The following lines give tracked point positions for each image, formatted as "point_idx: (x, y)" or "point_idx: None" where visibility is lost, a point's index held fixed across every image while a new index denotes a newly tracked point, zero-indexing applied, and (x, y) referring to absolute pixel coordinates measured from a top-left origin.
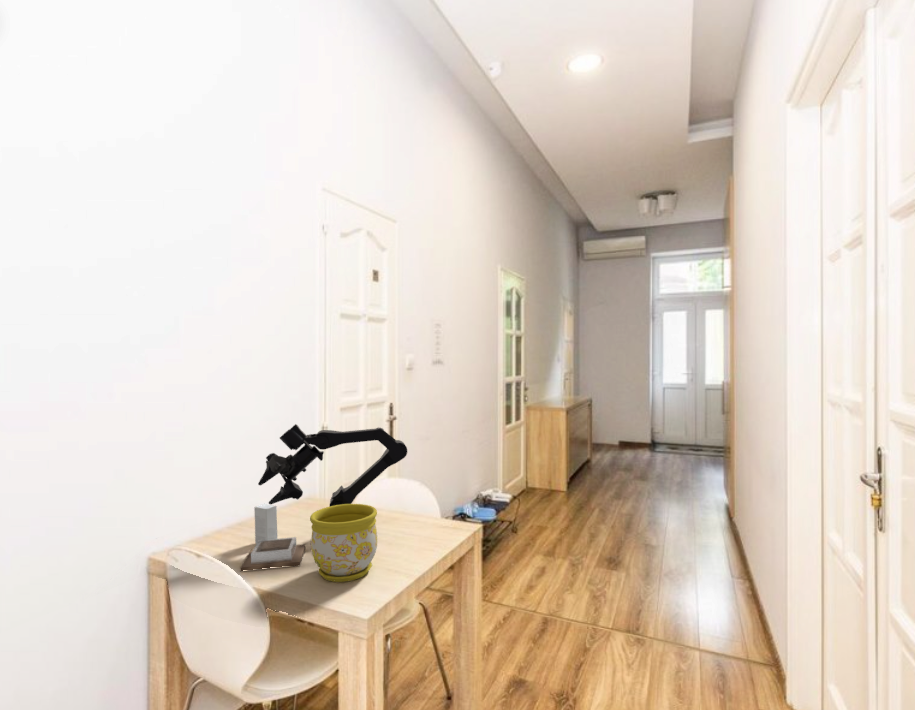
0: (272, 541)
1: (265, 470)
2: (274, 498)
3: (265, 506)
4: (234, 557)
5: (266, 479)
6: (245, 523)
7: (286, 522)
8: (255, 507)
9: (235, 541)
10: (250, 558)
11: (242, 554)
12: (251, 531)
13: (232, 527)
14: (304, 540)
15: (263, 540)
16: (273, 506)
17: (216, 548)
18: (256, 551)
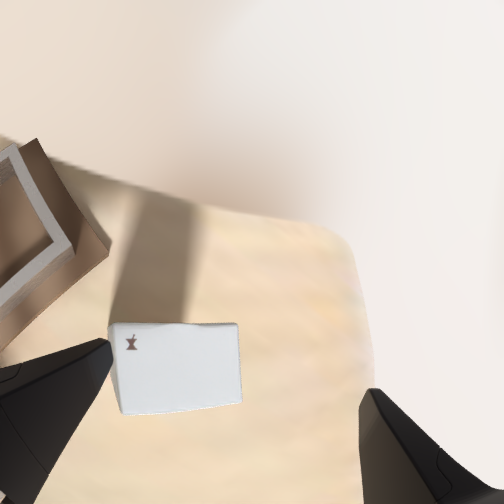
0: (23, 270)
1: (472, 475)
2: (46, 358)
3: (176, 365)
4: (133, 209)
5: (374, 469)
6: (355, 409)
7: (271, 495)
8: (226, 323)
9: (256, 310)
10: (49, 191)
11: (129, 237)
12: (292, 392)
13: (356, 372)
14: None
15: (53, 253)
16: (121, 391)
17: (251, 243)
18: (15, 171)
